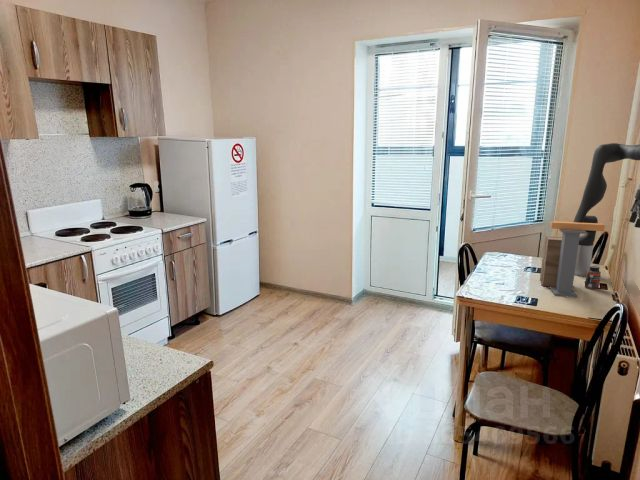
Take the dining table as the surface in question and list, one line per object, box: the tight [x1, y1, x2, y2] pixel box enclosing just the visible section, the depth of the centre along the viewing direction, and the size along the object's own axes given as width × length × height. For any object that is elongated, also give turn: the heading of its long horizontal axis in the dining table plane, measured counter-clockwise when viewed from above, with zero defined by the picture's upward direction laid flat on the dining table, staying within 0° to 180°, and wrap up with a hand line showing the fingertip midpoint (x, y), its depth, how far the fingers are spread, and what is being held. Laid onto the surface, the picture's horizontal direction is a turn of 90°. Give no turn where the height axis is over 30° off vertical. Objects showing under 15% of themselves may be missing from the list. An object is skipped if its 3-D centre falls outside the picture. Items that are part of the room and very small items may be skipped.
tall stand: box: [549, 229, 586, 298], centre depth 208 cm, size 10×10×32 cm
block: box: [549, 221, 606, 232], centre depth 203 cm, size 3×22×3 cm, turn 72°
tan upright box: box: [539, 234, 562, 288], centre depth 221 cm, size 10×12×25 cm
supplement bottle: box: [584, 265, 602, 290], centre depth 217 cm, size 6×6×11 cm
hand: (634, 224), depth 191 cm, fingers open, 8 cm apart
